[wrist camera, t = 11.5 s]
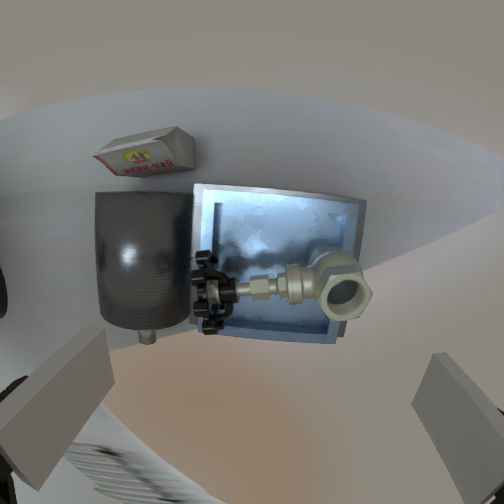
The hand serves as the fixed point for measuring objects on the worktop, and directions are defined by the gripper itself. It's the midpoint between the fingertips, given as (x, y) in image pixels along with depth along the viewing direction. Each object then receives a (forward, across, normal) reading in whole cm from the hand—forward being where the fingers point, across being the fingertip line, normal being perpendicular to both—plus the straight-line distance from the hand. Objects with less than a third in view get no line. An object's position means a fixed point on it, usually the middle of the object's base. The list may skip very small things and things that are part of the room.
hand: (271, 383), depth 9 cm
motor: (+22, -4, -1) cm, 23 cm away
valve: (+15, +1, 0) cm, 15 cm away
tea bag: (+23, -12, +10) cm, 28 cm away
